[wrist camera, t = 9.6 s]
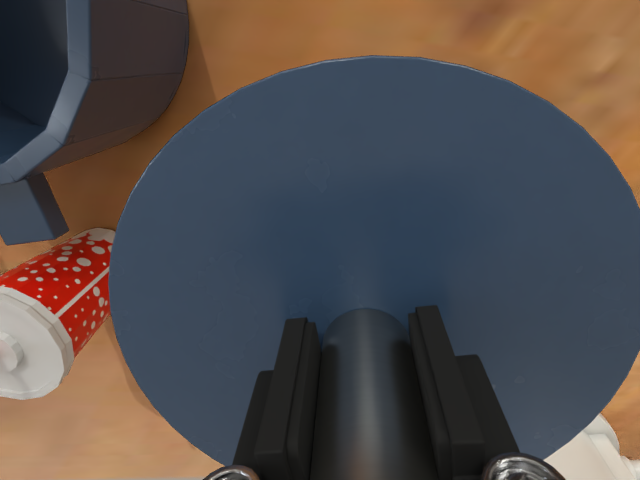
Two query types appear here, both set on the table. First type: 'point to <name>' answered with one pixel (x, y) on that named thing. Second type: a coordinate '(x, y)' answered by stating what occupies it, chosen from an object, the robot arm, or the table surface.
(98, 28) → the pot
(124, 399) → the table surface
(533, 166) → the lid
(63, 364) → the beverage cup
